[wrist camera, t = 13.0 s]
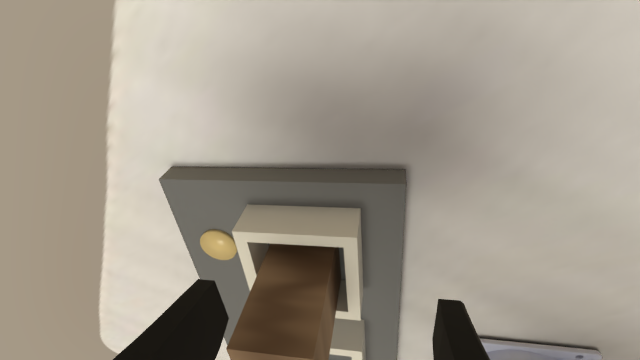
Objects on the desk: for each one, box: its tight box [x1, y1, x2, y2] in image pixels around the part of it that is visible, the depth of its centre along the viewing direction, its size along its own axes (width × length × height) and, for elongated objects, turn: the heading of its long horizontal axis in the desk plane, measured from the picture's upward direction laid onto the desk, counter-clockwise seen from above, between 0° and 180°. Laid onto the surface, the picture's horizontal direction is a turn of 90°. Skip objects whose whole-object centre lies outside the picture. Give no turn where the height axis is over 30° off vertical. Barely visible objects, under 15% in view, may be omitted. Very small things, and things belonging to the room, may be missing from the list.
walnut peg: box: [226, 243, 341, 360], centre depth 19 cm, size 4×4×8 cm
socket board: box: [159, 167, 406, 360], centre depth 25 cm, size 15×21×4 cm
